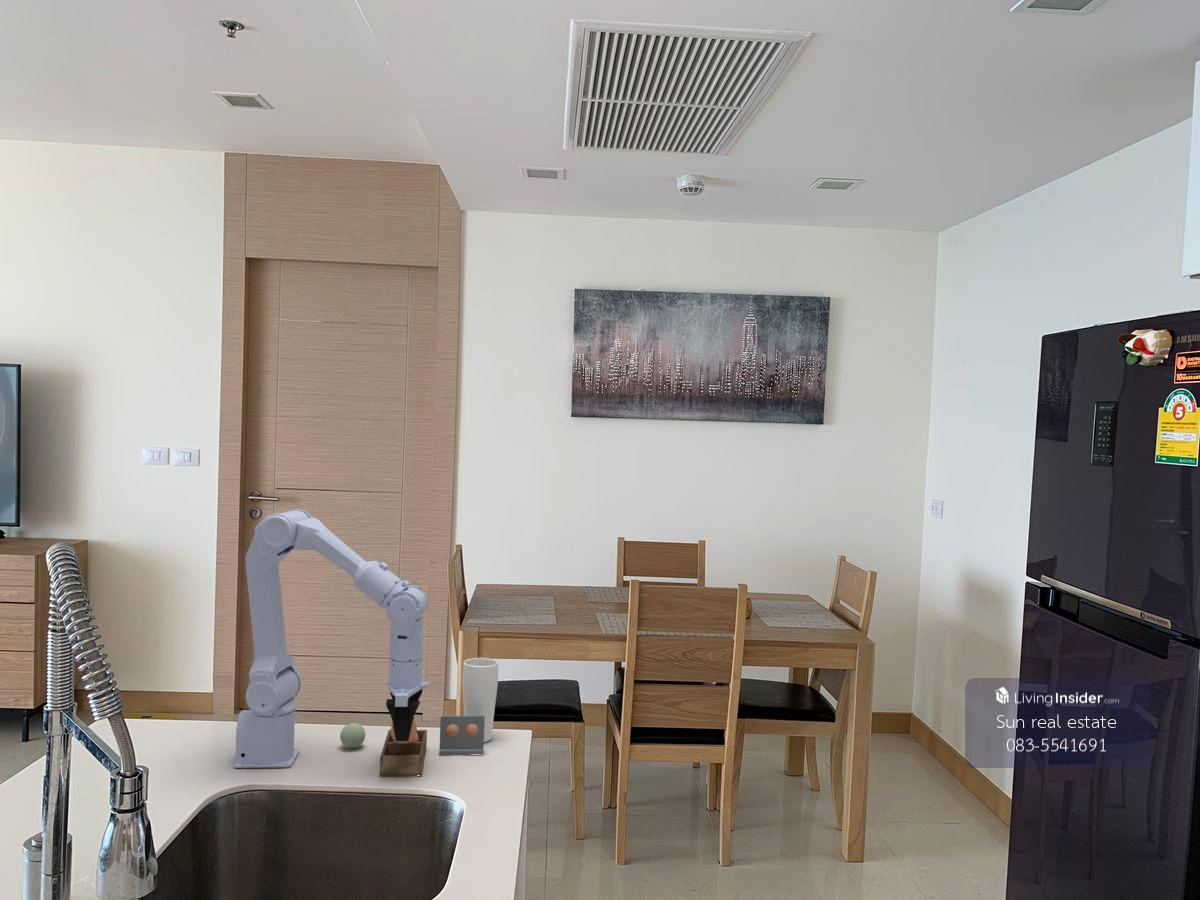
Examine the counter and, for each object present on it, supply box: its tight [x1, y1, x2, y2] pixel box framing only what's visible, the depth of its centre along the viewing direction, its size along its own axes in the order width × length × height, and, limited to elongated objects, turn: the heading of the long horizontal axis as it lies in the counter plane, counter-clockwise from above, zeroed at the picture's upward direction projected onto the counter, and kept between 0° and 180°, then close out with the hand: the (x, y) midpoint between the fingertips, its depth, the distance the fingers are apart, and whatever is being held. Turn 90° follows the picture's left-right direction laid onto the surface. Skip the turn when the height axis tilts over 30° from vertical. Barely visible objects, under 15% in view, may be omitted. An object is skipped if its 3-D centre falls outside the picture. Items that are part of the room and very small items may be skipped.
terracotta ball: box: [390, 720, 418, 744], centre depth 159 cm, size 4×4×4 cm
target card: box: [438, 714, 485, 756], centre depth 168 cm, size 8×3×7 cm, turn 97°
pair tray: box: [379, 729, 428, 777], centre depth 163 cm, size 7×14×4 cm, turn 7°
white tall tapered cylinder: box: [461, 657, 499, 743], centre depth 176 cm, size 7×7×15 cm
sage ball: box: [339, 722, 366, 749], centre depth 169 cm, size 4×4×4 cm
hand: (403, 735), depth 159 cm, fingers closed on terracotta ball, 4 cm apart
